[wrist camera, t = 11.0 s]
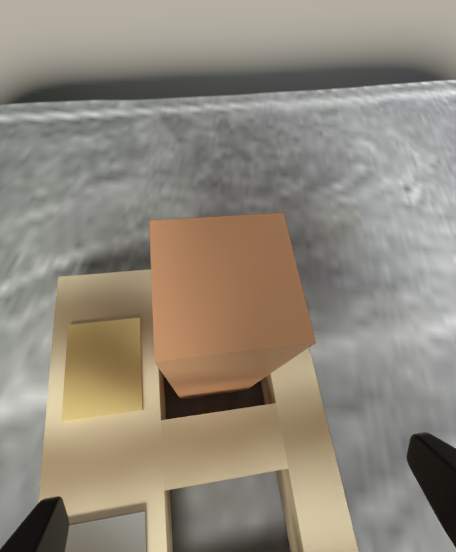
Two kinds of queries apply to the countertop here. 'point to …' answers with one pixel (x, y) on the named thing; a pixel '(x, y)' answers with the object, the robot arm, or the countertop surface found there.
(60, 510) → the robot arm
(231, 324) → the plug
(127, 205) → the countertop surface
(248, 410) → the socket plate
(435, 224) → the countertop surface
